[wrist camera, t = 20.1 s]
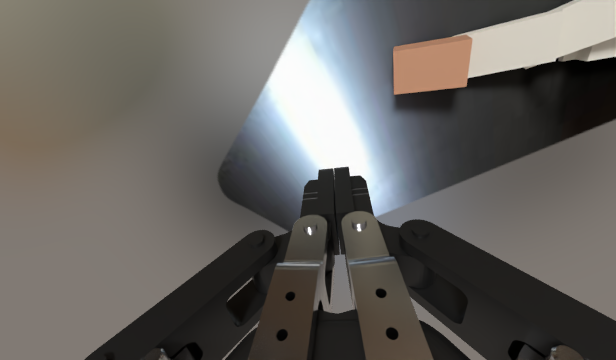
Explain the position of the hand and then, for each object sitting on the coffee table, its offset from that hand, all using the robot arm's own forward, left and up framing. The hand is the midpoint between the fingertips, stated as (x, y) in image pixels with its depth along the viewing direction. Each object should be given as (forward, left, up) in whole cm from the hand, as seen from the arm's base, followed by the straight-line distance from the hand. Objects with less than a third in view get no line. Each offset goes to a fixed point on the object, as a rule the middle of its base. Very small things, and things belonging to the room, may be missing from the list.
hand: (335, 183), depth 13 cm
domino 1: (-8, 0, -25) cm, 26 cm away
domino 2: (-15, 0, -26) cm, 30 cm away
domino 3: (-23, 0, -26) cm, 34 cm away
